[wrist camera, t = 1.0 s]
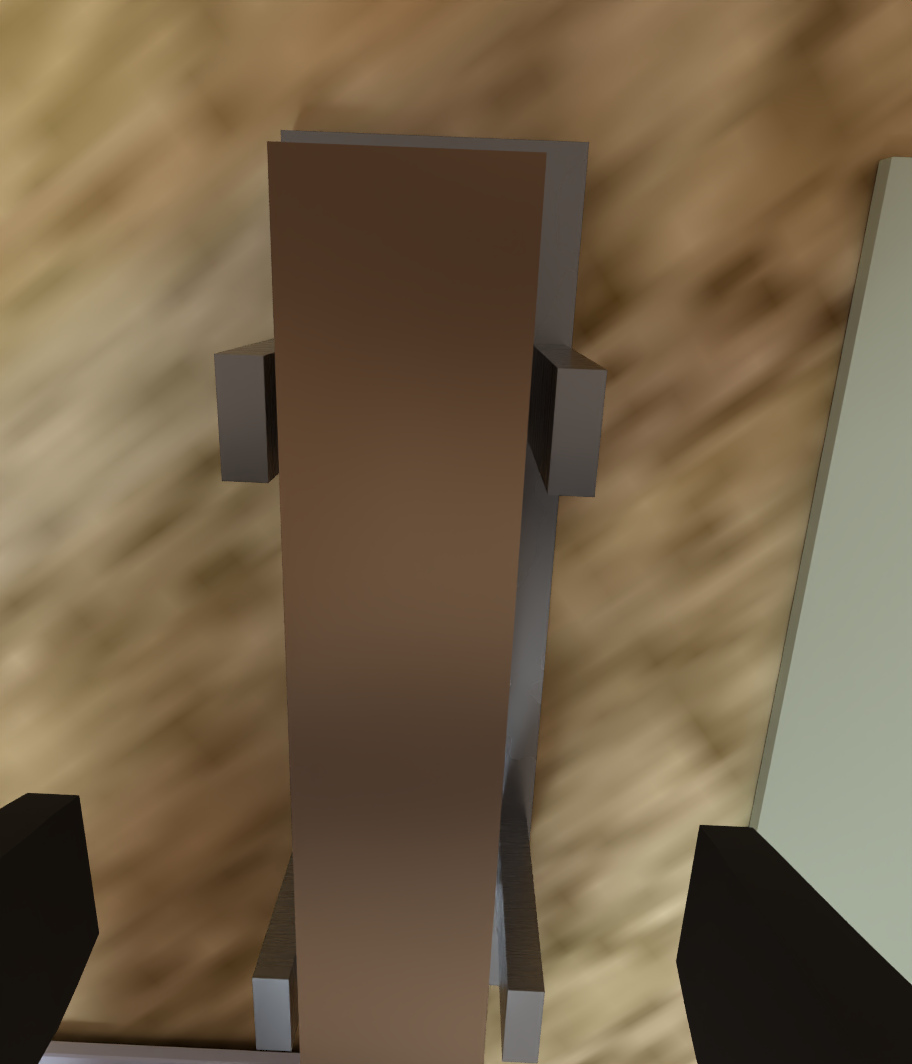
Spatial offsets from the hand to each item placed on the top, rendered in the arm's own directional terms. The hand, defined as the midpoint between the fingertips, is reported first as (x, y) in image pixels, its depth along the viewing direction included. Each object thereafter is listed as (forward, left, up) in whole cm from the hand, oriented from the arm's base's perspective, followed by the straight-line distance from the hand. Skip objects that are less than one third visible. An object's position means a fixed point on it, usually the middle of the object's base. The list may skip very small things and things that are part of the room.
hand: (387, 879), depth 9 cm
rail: (0, 0, -4) cm, 4 cm away
